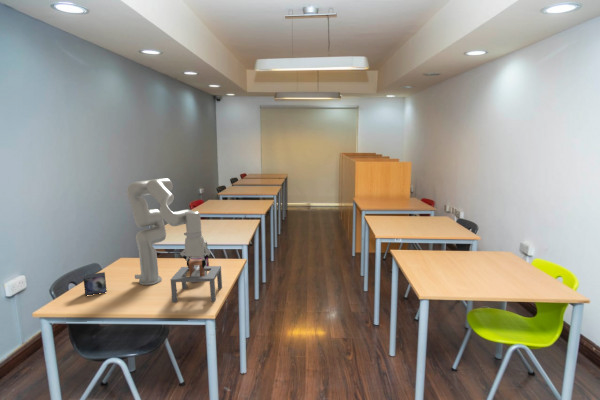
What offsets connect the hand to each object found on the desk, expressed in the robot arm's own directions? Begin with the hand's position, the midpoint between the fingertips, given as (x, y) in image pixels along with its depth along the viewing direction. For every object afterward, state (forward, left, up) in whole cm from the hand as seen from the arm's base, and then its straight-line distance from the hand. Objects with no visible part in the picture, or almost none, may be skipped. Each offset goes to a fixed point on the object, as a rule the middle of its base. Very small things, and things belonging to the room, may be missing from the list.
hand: (196, 266), depth 205 cm
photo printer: (-5, +21, -16) cm, 27 cm away
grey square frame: (0, 0, -16) cm, 16 cm away
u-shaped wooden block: (0, 0, -7) cm, 7 cm away
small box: (-58, +5, -16) cm, 60 cm away
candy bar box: (-11, +46, -16) cm, 50 cm away
